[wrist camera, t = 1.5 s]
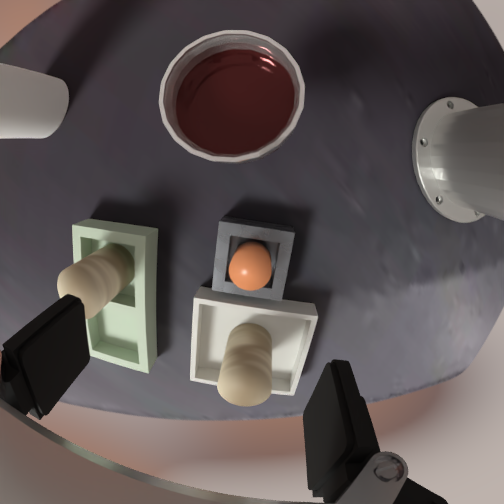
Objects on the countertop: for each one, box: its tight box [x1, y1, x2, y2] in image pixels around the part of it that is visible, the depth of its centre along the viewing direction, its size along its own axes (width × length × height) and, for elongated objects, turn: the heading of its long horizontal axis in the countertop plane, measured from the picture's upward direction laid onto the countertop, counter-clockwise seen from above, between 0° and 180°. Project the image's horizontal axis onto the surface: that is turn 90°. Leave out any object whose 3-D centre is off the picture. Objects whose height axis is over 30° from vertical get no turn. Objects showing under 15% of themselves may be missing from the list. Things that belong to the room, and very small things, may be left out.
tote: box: [190, 286, 318, 395], centre depth 27 cm, size 11×10×2 cm
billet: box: [217, 323, 272, 406], centre depth 25 cm, size 4×4×7 cm
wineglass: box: [159, 30, 305, 164], centre depth 17 cm, size 7×7×12 cm
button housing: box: [212, 216, 295, 301], centre depth 25 cm, size 6×6×2 cm
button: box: [229, 242, 272, 291], centre depth 23 cm, size 3×3×3 cm
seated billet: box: [57, 243, 135, 319], centre depth 23 cm, size 4×4×7 cm
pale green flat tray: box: [72, 219, 158, 373], centre depth 27 cm, size 8×15×3 cm, turn 172°
